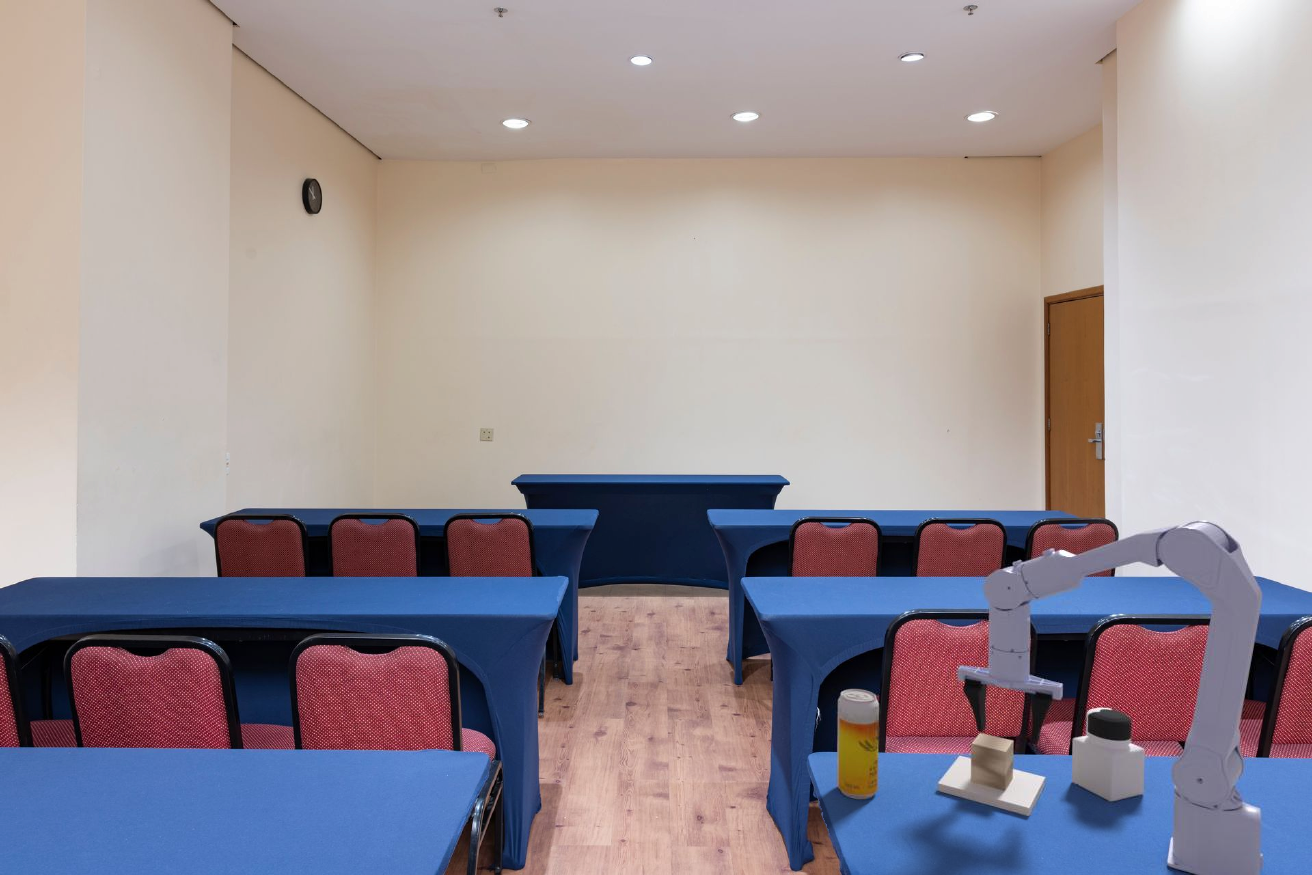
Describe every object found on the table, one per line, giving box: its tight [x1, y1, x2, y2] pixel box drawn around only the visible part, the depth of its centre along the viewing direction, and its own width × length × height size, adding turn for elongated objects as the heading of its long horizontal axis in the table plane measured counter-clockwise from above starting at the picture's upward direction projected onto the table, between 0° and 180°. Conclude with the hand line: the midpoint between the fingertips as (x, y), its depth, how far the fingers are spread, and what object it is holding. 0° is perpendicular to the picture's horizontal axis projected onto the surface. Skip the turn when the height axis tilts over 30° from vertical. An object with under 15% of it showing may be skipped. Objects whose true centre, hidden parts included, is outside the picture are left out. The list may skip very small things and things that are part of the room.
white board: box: [937, 755, 1046, 817], centre depth 124 cm, size 13×12×1 cm
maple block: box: [970, 732, 1015, 791], centre depth 124 cm, size 5×5×6 cm
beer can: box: [836, 688, 880, 800], centre depth 123 cm, size 6×6×15 cm
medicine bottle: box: [1071, 707, 1146, 802], centre depth 124 cm, size 7×7×12 cm
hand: (1007, 735), depth 121 cm, fingers open, 7 cm apart
